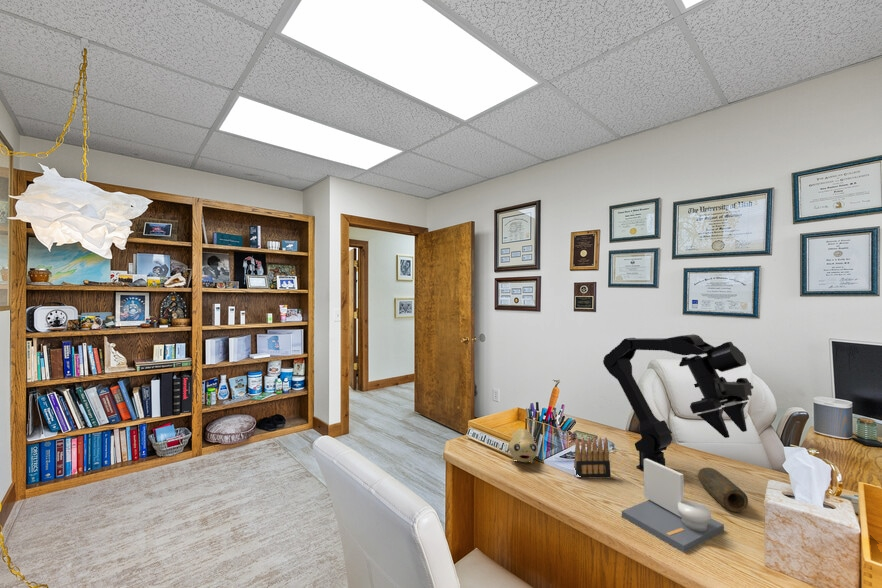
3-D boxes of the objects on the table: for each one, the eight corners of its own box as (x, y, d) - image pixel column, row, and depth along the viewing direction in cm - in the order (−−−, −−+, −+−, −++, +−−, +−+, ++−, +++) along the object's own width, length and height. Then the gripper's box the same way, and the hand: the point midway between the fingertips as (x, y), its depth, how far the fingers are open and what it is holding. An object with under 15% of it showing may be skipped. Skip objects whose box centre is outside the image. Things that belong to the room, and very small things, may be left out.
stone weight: (755, 516, 93) (754, 489, 93) (724, 514, 94) (724, 488, 94) (718, 486, 108) (718, 463, 108) (692, 485, 109) (692, 462, 109)
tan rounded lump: (510, 469, 120) (509, 436, 120) (507, 454, 132) (507, 424, 132) (541, 471, 119) (540, 437, 119) (535, 455, 131) (535, 424, 131)
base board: (621, 516, 94) (621, 502, 94) (661, 500, 101) (660, 487, 101) (683, 552, 80) (683, 536, 80) (724, 530, 88) (723, 515, 88)
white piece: (717, 527, 86) (716, 483, 86) (699, 534, 83) (698, 489, 83) (654, 493, 100) (653, 456, 101) (637, 499, 98) (636, 460, 98)
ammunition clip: (608, 474, 116) (607, 436, 116) (610, 477, 114) (610, 438, 114) (573, 475, 116) (573, 436, 116) (576, 478, 114) (575, 438, 114)
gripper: (717, 371, 94) (752, 435, 88) (752, 365, 103) (786, 422, 97) (677, 383, 103) (706, 442, 97) (712, 376, 112) (741, 430, 106)
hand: (736, 434), depth 99 cm, fingers open, 9 cm apart
